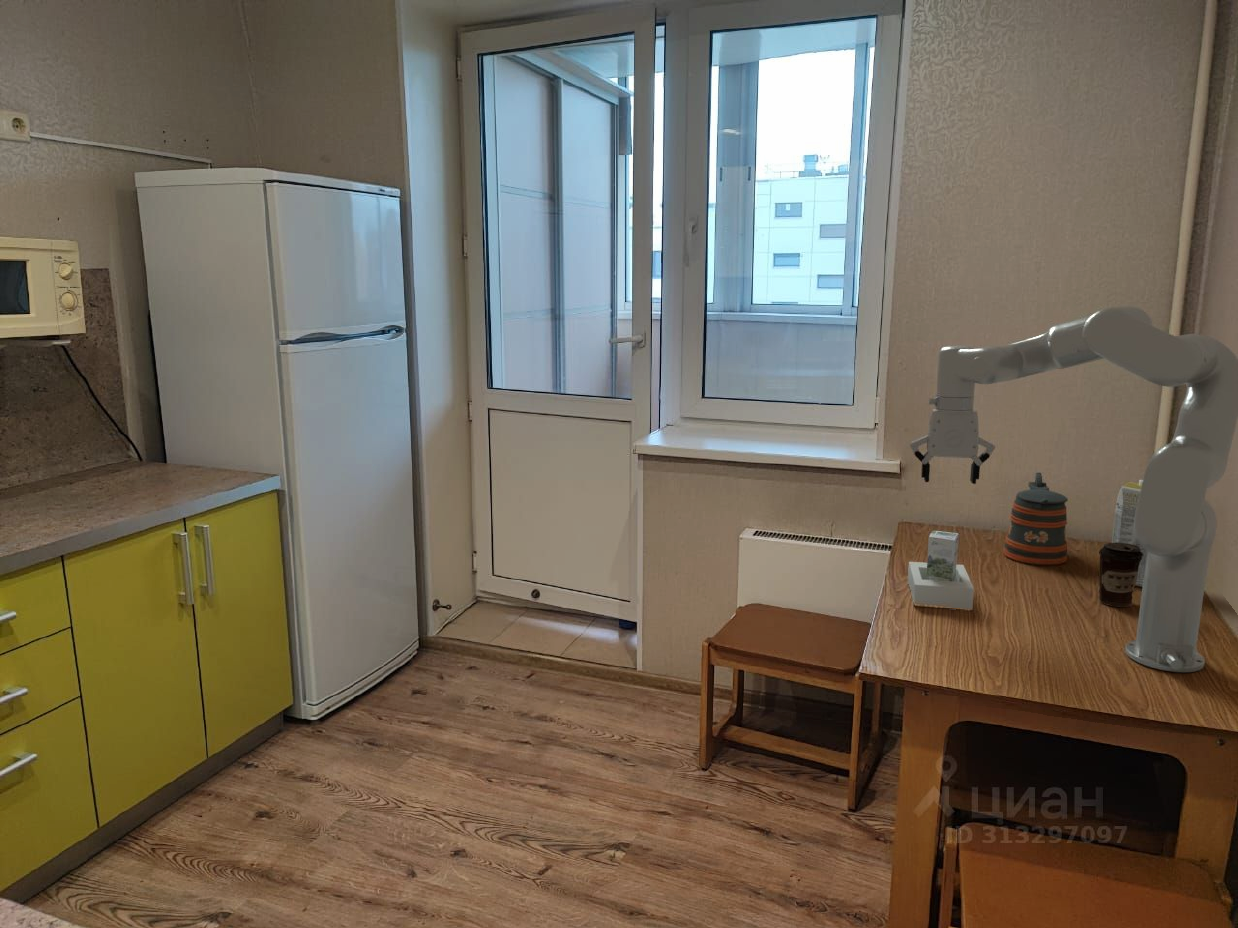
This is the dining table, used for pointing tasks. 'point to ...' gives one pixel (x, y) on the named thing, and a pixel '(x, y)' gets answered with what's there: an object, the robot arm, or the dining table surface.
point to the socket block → (940, 588)
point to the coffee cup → (1118, 573)
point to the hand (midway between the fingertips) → (949, 481)
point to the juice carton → (1128, 522)
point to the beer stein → (1037, 526)
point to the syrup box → (942, 556)
